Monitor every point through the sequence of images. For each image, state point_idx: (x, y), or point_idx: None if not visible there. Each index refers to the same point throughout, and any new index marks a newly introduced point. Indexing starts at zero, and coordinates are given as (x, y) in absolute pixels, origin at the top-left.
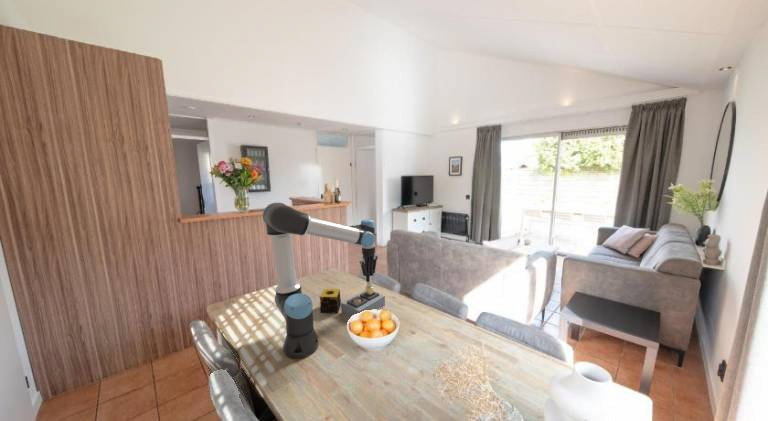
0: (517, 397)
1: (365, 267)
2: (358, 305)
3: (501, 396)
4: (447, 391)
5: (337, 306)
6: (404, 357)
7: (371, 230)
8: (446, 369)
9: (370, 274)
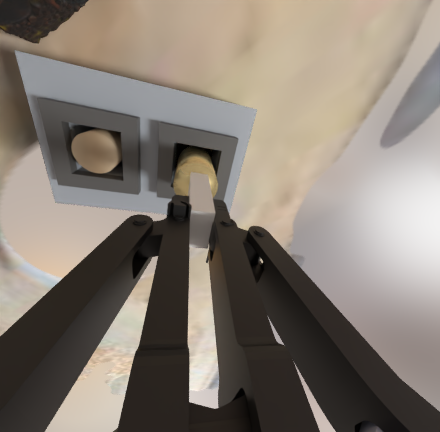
0: (123, 387)
1: (66, 375)
2: (70, 186)
3: (112, 383)
4: None
5: (4, 29)
6: None
7: None
8: (103, 353)
9: (209, 242)
